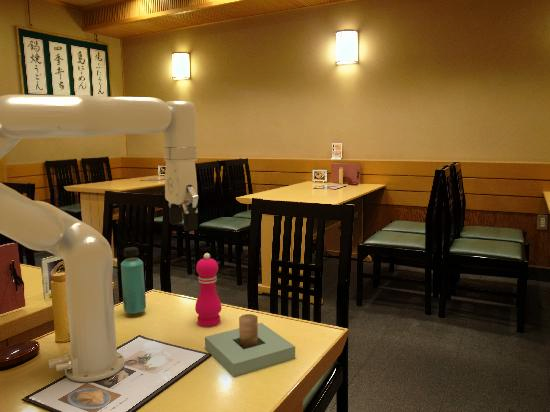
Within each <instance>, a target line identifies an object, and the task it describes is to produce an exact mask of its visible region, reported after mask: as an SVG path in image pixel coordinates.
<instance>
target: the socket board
mask: <svg viewBox="0 0 550 412" xmlns="http://www.w3.org/2000/svg"><path fill="white" fill-rule="evenodd" d="M204 348H205V350H206V351H207V352H208V353H209V354H211V356H212V357H214V359H215V360H216V361H217V362H218V363H219V364H220V365H221V366H223V367H224V369H225V370H227V372H228V373H230V374H231V376H232V377H233V378H234V377H239V376H242V375H245V374H248V373H252V372H255V371H258V370H261V369H265V368H269V367H272V366H275V365H278V364H282V363H285V362H288V361H290V360H295V359H296V346H295V345H294V344H293V343H291V342H290V341H289V340H287V339H286V338H284V337H283V336H281V335H280V334H278V333H277V332H275V331H274V330H272V328H270V327H268V325H265V324H264V323H262V322H258V346H254V347H251V348H247V349H243V348H241V347H240V339H239V327H238V328H235V329H230V330H227V331H223V332H219V333H214V334H211V335H207V336H205V337H204Z"/></svg>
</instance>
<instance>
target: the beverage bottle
mask: <svg viewBox="0 0 550 412" xmlns="http://www.w3.org/2000/svg"><path fill="white" fill-rule="evenodd" d="M139 252H140V251H139V248H138V247H135V246H130V247H125V248H123V256H124V257H125V259H124V260H123V261H121V263H120V270H121V271H120V272H121V280H120V281H121V285H122V286H121V289H122V304H123V310H124V312H125V313H126V314H138V313H142V312H143V311H144V312H145V310H146V309H147V301H146V299H147V298H146V297H147V296H146V285H145V274H144V273H145V272H144V262H143V260H142V259H140V258H138V257H137V256H139V255H140V253H139Z"/></svg>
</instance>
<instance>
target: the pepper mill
mask: <svg viewBox="0 0 550 412" xmlns="http://www.w3.org/2000/svg"><path fill="white" fill-rule="evenodd" d="M218 264H219V263H218V262H217V261H216V260H215V259H214V258H211V254H210V253H208V252H206V253H204V255H203V258H202V259H200V260H198V261H197V263H196V268H195V271H196V273H197V275H198V277H197V279H198V282H199V284H200V285H199V286H200V288H199V293H198V297H197V299H196V301H195V305H194V306H195V309H194V310H195V312H196V314H197V315H198V316H197V325H198V326H200V327H202V328H211V327H215V326H217V325H219V324H220V323H221V316H220V313H221V312H222V302H221V300H220V298H219V297H220V296H219V294H218V293H217V289H216V282H217V280H218V279H217V273H218V271H219V265H218Z"/></svg>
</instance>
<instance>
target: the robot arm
mask: <svg viewBox="0 0 550 412" xmlns="http://www.w3.org/2000/svg"><path fill="white" fill-rule="evenodd" d="M196 116H197V115H196V106H195V104H194V102H191V101H189V100H169V101H164V100H162V99H160V98H158V97H152V96H151V97H150V96H149V97H148V96H147V97H145V96H142V97H141V96H140V97H139V96H95V95H74V94H73V95H71V94H70V95H69V94H68V95H66V94H63V95H62V94H61V95H60V94H20V93H19V94H15V93H14V94H3V95H1V96H0V160H1V159H2V158H3V157H4V156H5V155H7V153H9V152H10V151H11V150H12V149H13V148H14V147H15V146H16V145H17V144H18V143H19V142H20V141H22V140H23V139H45V138H47V139H48V138H49V139H50V138H55V139H56V138H87V137H88V138H91V137H98V136H99V137H100V136H107V135H135V134H136V135H137V134H139V135H140V134H141V135H143V134H146V135H147V134H150V135H151V134H155V135H156V134H159V133H162V136H163V158H164V159H163V161H164V162H165V167H164V168H165V170H164V171H165V172H164V173H165V174H164V176H165V177H164V198H165V200H166V201H168V207H169V208H168V209H169V210H168V211H169V212H168V213H169V214H168V215H169V224H170V225H173V224H174V225H175V224H181V223H183V230H184V231H185V232H188V231H189V232H190V231H195V230H196V231H197V230H198V227H199V226H198V213H199V211H198V207H199V203H198V201H199V195H198V181H197V169H196V162H197V161H198V157H197V156H198V155H197V154H198V150H197V122H196V120H197V119H196ZM181 205H182V206H181ZM0 234H1V235H3V236H5V237H7V238H9V239H11V240H13V241H15V242H16V243H18V244H20V245H22V246H24V247H25V248H27V249H30V250H32V251H38V252H42V251H43V252H44V251H46V252H48V253H50V254H52V255H55V257H58V258H61V259H62V261H63V262H64V263H63V264H64V269H65V270H64V271H65V294H66V295H65V296H66V297H65V298H66V306H67V315H68V326H69V327H68V328H69V329H68V331H69V339H70V349H68V350H67V352H68V354H64V355H63V357H56V358H52V359H48V369H49V370H51V369H55V368H56V372H59V371H63V370H64V374H65V377H67V379H68V380H71V381H73V382H74V381H75V382H79V383H80V382H82V383H89V382H96V381H101V380H104V379H107V378H110V377H113V376H114V375H115V374H117V373H118V372H120V371H121V370H122V369H123V368H124V366H125V357H124V355H123V354H121V353H120V352H117V351H118V350H117V349H118V348H117V336H116V334H117V333H116V317H115V303H114V300H115V299H114V290H113V289H114V288H113V269H114V268H113V267H114V257H113V256H114V255H113V250H112V248H111V245H110V243H109V241H108V239H106V238H105V237H104V235H102V234H101V233H100V231H97V230H96V229H95V228H93V227H92V226H91V225H90V224H88V223H85V222H84V221H82V220H79V219H78V218H76V217H74V216H72V215H71V214H69V213H67V212H65V211H64V210H61V209H60V208H59V207H56V206H54V205H53V204H50V203H48V202H45V201H42V200H32V199H31V198H29V197H28V196H25V195H23V194H21V193H20V192H18V191H17V190H16V189H13V188H11V187H9V186H7V185H5V184H4V183H2V182H0Z"/></svg>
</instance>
